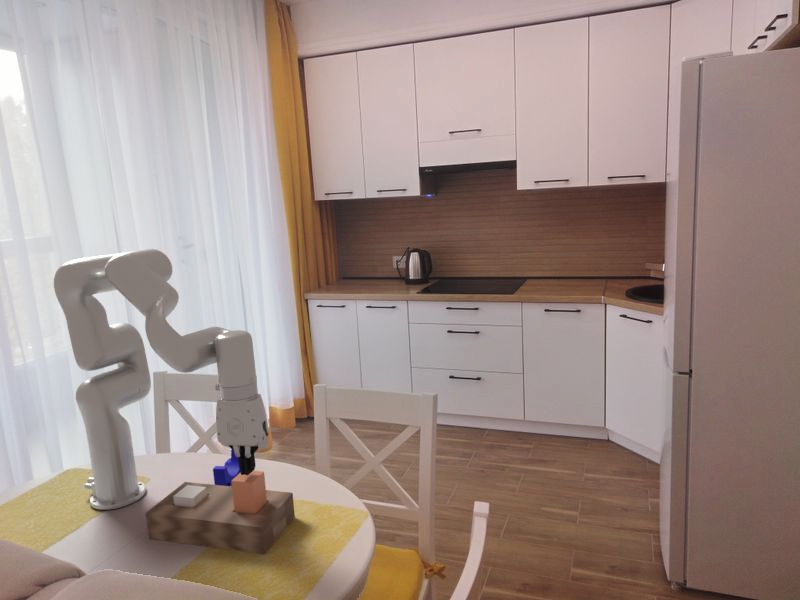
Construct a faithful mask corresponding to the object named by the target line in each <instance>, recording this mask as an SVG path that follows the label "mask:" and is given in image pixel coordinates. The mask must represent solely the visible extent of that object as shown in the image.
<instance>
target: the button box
mask: <svg viewBox="0 0 800 600" xmlns="http://www.w3.org/2000/svg"><path fill="white" fill-rule="evenodd" d="M187 485H191V486H201V487H206V489H207V497H206V498H205V499H204V500H203V501H201V502H200V503H199V504H198V505H197V506H196V507H195V508H194V507H185V506H176V505H174V497H173V496H174V495H175V494H177V493H178V492H179V491H180V490H182V489H183V488H184V487H185V486H187ZM266 497H267V504H266V505H265V506H264V507H263V508H262V509H261V510H260V511H259V512H258V513H257V514H256V515H255V514H246V513H237V512H235V510H234V501H233V492H232V485H231V486H221V485H215V484H210V483H209V484H208V483H199V482H190V481H188V482H187V481H184V482H183V483H182V484H180V485H179V486H178V487H177V488H175V489H174V490H173V491H172V492H170V493H169V494H168V495H166V496H165V497H164V498H163V499H161V500H160V501H158V502H157V503H155V505H154V506H152V507H151V508H150V509H148V510H147V511H146V512H145V513H144V514H145V521H146V527H147V528H146V529H147V535H148V540H149V539H150V540H158V541H164V542H172V543H180V544H187V545H193V546H194V545H195V546H201V547H202V546H203V547H210V548H216V549H224V550H232V551H238V552H239V551H240V552H245V553H247V552H248V553H255V554H260V555H262V554H263V555H266V553H267V552H268V551H269V550H270V548H271V547H272V546H273V545H274V543H275V542H276V541H277V540H278V539H279V537H280V536H282V533H283V532H284V531H285V530H286V528H288V526H289V525H290V524H291V523H292V521H293V520H294V519H295V518H296V517H295V506H294V505H295V504H294V503H295V502H294V494H293V492H289V491H288V492H287V491H279V490H270V489H269V490H267V489H266ZM294 517H295V518H294ZM293 518H294V519H293Z"/></svg>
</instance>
